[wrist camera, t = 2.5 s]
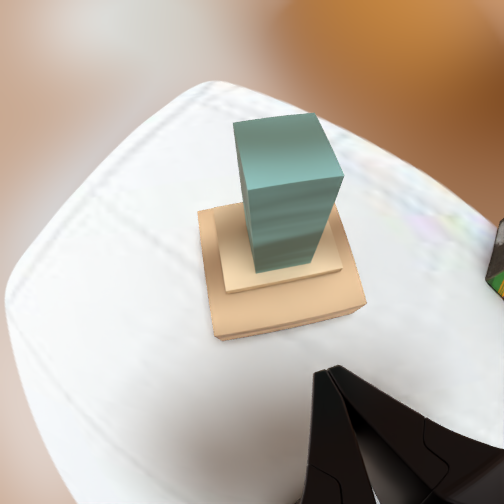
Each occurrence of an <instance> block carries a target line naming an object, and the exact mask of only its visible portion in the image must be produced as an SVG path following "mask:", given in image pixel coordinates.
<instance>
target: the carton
mask: <svg viewBox="0 0 504 504" xmlns="http://www.w3.org/2000/svg"><path fill="white" fill-rule="evenodd" d="M197 212H198V221H199V229H200V238H201V246H202V254H203V262H204V269H205V277H206V284H207V291H208V298H209V305H210V311H211V318H212V324H213V330H214V336H215V337H217V338H218V339H220V340H222V341H225V340H231V339H237V338H243V337H248V336H254V335H259V334H264V333H269V332H274V331H279V330H284V329H289V328H293V327H298V326H302V325H307V324H311V323H315V322H320V321H324V320H328V319H332V318H336V317H340V316H344V315H348V314H352V313H354V312H355V311H357V310H358V309H360V308H361V307H362V306H364V305H365V304H367V302H366V298H365V295H364V291H363V287H362V284H361V281H360V277H359V274H358V271H357V267H356V264H355V261H354V258H353V254H352V251H351V248H350V245H349V242H348V239H347V236H346V233H345V230H344V227H343V224H342V222H341V219H340V216H339V213H338V210H337V208H336V205H335V202H334V205H333V208H332V210H331V213H330V216H329V218H328V221H329V224H330V227H331V230H332V233H333V236H334V240H335V243H336V246H337V249H338V252H339V256H340V259H341V262H342V266H343V269H342V270H341V271H339V272H335V273H330V274H326V275H321V276H316V277H312V278H307V279H302V280H297V281H292V282H287V283H282V284H277V285H272V286H267V287H262V288H257V289H252V290H246V291H241V292H235V293H230V294H227V292H226V288H225V282H224V276H223V270H222V263H221V257H220V251H219V244H218V237H217V231H216V224H215V217H214V210H213V208H212V209H207V210H202V211H197Z"/></svg>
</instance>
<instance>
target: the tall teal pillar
mask: <svg viewBox="0 0 504 504" xmlns="http://www.w3.org/2000/svg"><path fill="white" fill-rule="evenodd" d="M233 128H234V136H235V144H236V152H237V159H238V167H239V175H240V182H241V190H242V197H243V202H241V203H236V204H230V205H225V206H220V207H215V208H213V210H214V217H215V224H216V231H217V237H218V244H219V251H220V257H221V263H222V270H223V276H224V282H225V288H226V292H227V294H230V293H235V292H241V291H246V290H252V289H257V288H262V287H267V286H272V285H277V284H282V283H287V282H292V281H297V280H302V279H307V278H312V277H316V276H321V275H326V274H330V273H335V272H339V271H341V270H342V269H343V266H342V262H341V259H340V256H339V252H338V249H337V246H336V243H335V240H334V236H333V233H332V230H331V227H330V224H329V221H328V218H329V216H330V213H331V210H332V208H333V205H334V202H335V200H336V197H337V194H338V192H339V189H340V186H341V183H342V181H343V178H344V174H343V171H342V169H341V167H340V165H339V162H338V160H337V158H336V156H335V154H334V151H333V149H332V147H331V145H330V143H329V141H328V139H327V137H326V135H325V133H324V130H323V128H322V126H321V124H320V122H319V120H318V118H317V117H316V115H315V113H307V114H296V115H286V116H277V117H269V118H262V119H255V120H248V121H242V122H235V123H233Z"/></svg>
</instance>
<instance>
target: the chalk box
mask: <svg viewBox="0 0 504 504" xmlns="http://www.w3.org/2000/svg"><path fill="white" fill-rule="evenodd" d="M486 281H487V282H488V283H489V284H490V285H491V286H492V287H493V288H494V289H495V290H496V291H497V292H498V293H499V294H500V295H501V296H502V297H503V298H504V218H503V219H502V220H501V221H500V224H499V228H498V233H497V238H496V242H495V246H494V251H493V255H492V259H491V262H490V266H489V269H488V273H487V277H486Z"/></svg>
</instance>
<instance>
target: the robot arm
mask: <svg viewBox="0 0 504 504" xmlns="http://www.w3.org/2000/svg"><path fill="white" fill-rule="evenodd" d="M371 486H372V487H371ZM372 488H373V490H374V492H375V494H376V496H377V498H378V500H379V502H380V504H504V449H501V448H497V447H493V446H490V445H488V444H485V443H482V442H479V441H476V440H474V439H471V438H468V437H465V436H463V435H460V434H458V433H456V432H453V431H451V430H449V429H447V428H445V427H443V426H441V425H439V424H437V423H435V422H434V421H432V420H430V419H428V418H425V417H424V416H423V415H421V414H419V413H418V412H416V411H414V410H413V409H411V408H409V407H408V406H406V405H404V404H402V403H401V402H399V401H397V400H396V399H394V398H392V397H391V396H389V395H388V394H386V393H384V392H383V391H381V390H379V389H378V388H376V387H374V386H373V385H371V384H370V383H368V382H366V381H365V380H363V379H362V378H360V377H358V376H357V375H355V374H354V373H352V372H351V371H349V370H347V369H346V368H344V367H343V366H341V365H336V366H333V367H330V368H328V369H327V370H325V369H324V370H321V371H318V372H315V373H314V374H313V388H312V407H311V423H310V436H309V448H308V460H307V468H306V478H305V484H304V490H303V495H302V498H301V499H299V500H298V501H297V502H296V503H295V504H376V501H375V497H374V494H373V490H372Z"/></svg>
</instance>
